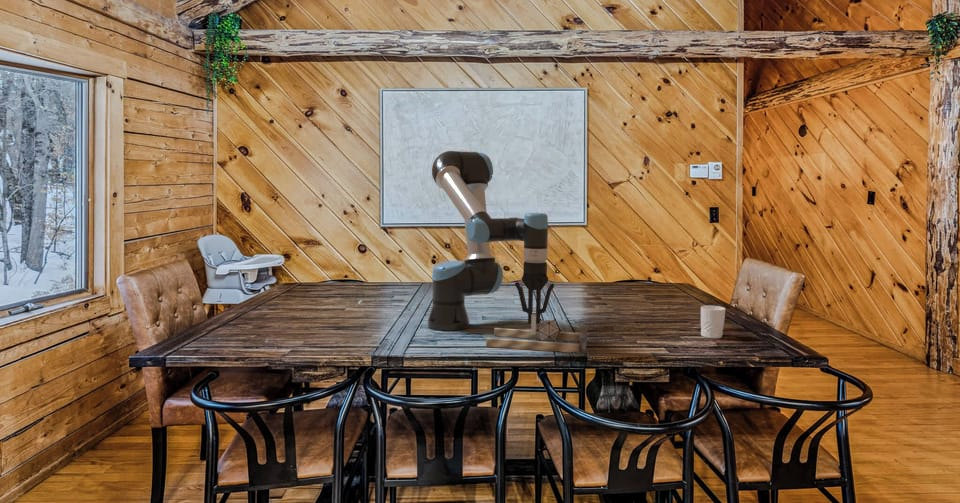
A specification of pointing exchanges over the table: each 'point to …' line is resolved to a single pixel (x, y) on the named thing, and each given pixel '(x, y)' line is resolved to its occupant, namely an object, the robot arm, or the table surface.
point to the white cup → (712, 321)
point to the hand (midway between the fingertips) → (533, 333)
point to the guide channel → (538, 344)
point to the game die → (548, 330)
